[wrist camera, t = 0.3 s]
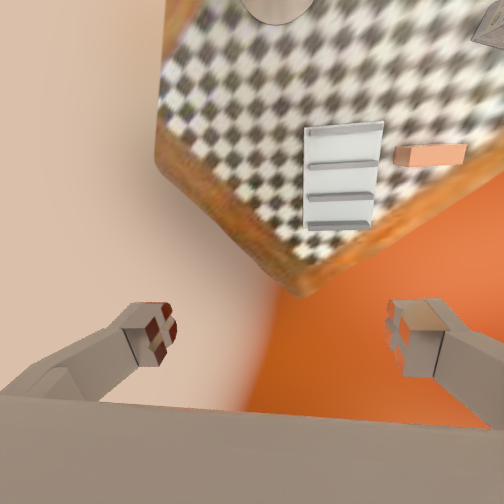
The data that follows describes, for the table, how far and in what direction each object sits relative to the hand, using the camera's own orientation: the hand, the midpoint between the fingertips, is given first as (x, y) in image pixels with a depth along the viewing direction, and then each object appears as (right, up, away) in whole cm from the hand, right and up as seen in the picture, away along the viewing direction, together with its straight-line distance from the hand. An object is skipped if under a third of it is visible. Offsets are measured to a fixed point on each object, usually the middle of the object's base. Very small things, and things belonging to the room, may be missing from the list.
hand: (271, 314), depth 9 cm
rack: (+17, +17, +41) cm, 48 cm away
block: (+30, +21, +37) cm, 52 cm away
